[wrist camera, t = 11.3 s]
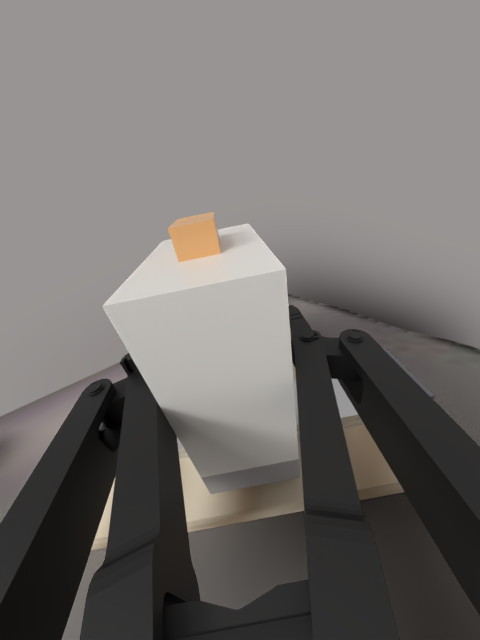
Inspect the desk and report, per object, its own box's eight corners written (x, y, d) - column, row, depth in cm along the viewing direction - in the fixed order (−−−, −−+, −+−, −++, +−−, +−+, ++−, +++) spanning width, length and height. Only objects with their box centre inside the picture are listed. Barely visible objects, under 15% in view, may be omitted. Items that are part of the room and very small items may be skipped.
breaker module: (210, 494, 12) (76, 262, 5) (212, 383, 19) (154, 218, 12) (300, 477, 12) (282, 220, 5) (269, 372, 19) (244, 199, 12)
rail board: (69, 554, 13) (52, 546, 12) (128, 404, 21) (120, 394, 20) (456, 482, 12) (466, 469, 12) (358, 360, 21) (360, 347, 20)
